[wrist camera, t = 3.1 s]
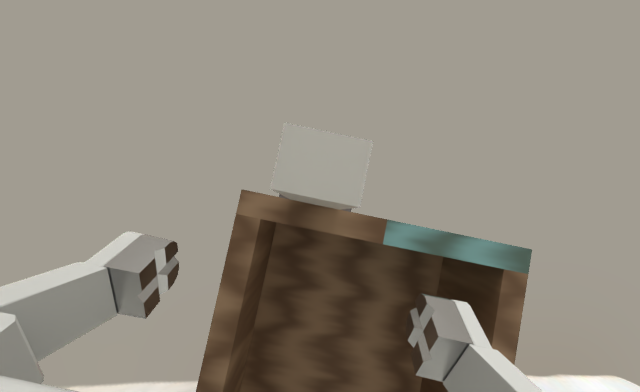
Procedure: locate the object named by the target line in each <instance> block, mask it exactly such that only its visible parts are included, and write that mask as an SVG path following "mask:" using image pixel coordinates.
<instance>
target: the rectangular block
mask: <svg viewBox="0 0 640 392" xmlns="http://www.w3.org/2000/svg"><path fill="white" fill-rule="evenodd" d="M372 144H373V141H370V140H366V139H361V138H356V137H351V136H347V135H342V134H337V133H332V132H327V131H323V130H318V129H313V128H308V127H304V126H299V125H294V124H289V123H284V127H283V132H282V136H281V141H280V145H279V150H278V155H277V160H276V164H275V168H274V173H273V178H272V183H271V186H270V189H271V190H273V191H275V192H277V193H279V194H280V195H279V197H280V198H285V199H290V200H295V201H300V202H305V203H309V204H314V205H319V206H324V207H329V208H333V209H338V210H343V211H348V212H351V209H352V208H359V207H360V205H361V200H362V195H363V190H364V185H365V179H366V174H367V169H368V164H369V159H370V154H371V149H372Z"/></svg>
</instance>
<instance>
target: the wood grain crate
mask: <svg viewBox="0 0 640 392" xmlns="http://www.w3.org/2000/svg"><path fill="white" fill-rule="evenodd" d="M531 252H532V250H531V249H526V248H522V247H517V246H512V245H507V244H502V243H497V242H492V241H488V240H483V239H478V238H474V237H469V236H464V235H459V234H454V233H449V232H444V231H439V230H435V229H430V228H425V227H420V226H416V225H411V224H406V223H401V222H396V221H391V220H387V219H382V218H377V217H372V216H367V215H362V214H358V213H353V212H348V211H343V210H338V209H333V208H329V207H324V206H319V205H314V204H309V203H305V202H300V201H295V200H290V199H285V198H280V197H275V196H270V195H266V194H261V193H256V192H251V191H247V190H241V195H240V200H239V204H238V208H237V213H236V217H235V221H234V226H233V230H232V235H231V239H230V244H229V248H228V252H227V257H226V261H225V266H224V270H223V274H222V279H221V283H220V288H219V293H218V296H217V301H216V306H215V310H214V314H213V319H212V323H211V328H210V332H209V336H208V341H207V345H206V350H205V354H204V359H203V363H202V367H201V372H200V376H199V381H198V385H197V389H196V392H448V390H447V389H446V388H445V386H444V385H443V382H441V381H437V380H433V379H429V378H425V377H420V376H416V375H415V371H414V367H413V362H412V358H411V352H412V350H413V346H412V345H411V344H410V343H409V342H408V340H407V335H406V321H407V317H408V315H409V312H410V311H411V310H412V309H414V308H416V304H415V300H416V298H417V296H418V295H419V294H421V293H422V294H426V295H431V296H436V297H441V298H446V299H450V300H451V299H452V300H457V301H462V302H467V303H468V304H469V305H470V306H471V308H472V310H473V312H474V314H475V316H476V318H477V320H478V322H479V324H480V326H481V328H482V329H483V331H484V333H485V335H486V337H487V339H488V341H489V343H490V345H491V347H492V349H495V350H498V351H499V352H500V353H501V354H502V355H503V356H505V357H506V358H507V359H508V360H509V361H510V362H511V363H512V364H513V365H514V362H515V356H516V350H517V343H518V337H519V331H520V324H521V318H522V311H523V304H524V298H525V292H526V285H527V279H528V272H529V266H530V259H531Z"/></svg>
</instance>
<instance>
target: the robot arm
mask: <svg viewBox="0 0 640 392" xmlns="http://www.w3.org/2000/svg"><path fill="white" fill-rule="evenodd" d="M177 252H178V248H177V243H176V242H174V241H171V240H167V239H162V238H158V237H154V236H150V235H144V234H140V233H136V232H131V231H129V232H125V233H123V234H122V235H120V236H119V237H118V238H117V239H115V240H114V241H112V242H111V243H110V244H108V245H107V246H106V247H104V248H103V249H102V250H100V251H99V252H98V253H96V254H95V255H94V256H92V257H91V258H90V259H88V260H87V261H86V262H85V263H82V262H77V263H73V264H70V265H67V266H64V267H61V268H58V269H55V270H51V271H48V272H45V273H42V274H39V275H36V276H33V277H30V278H26V279H23V280H20V281H17V282H14V283H11V284H7V285H4V286H1V287H0V392H78V391H73V390H68V389H63V388H58V387H54V386H49V385H43V384H41V383H42V382H43V381H44V374H43V372H42V370H41V368H40V366H39V364H38V361H40V360H41V359H43V358H45V357H46V356H48V355H50V354H52V353H53V352H55V351H57V350H58V349H60V348H62V347H64V346H65V345H67V344H69V343H71V342H72V341H74V340H75V339H77V338H79V337H81V336H82V335H84V334H86V333H88V332H89V331H91V330H93V329H95V328H96V327H98V326H100V325H101V324H103V323H105V322H107V321H108V320H110V319H112V318H113V317H115V316H117V314H123V315H128V316H134V317H139V318H145V319H146V318H147V317H148V315H149V314H150V313H151V311H152V310H153V309H154V308H155V307H156V305H157V304H158V302H160V297H159V295H160V294H161V293H164V292H166V291H168V290H169V289H170V287H171V286H172V285H173V283H174V281H175V279H176V277H177V275H178V270H179V262H178V260H177V259H176V258H175V257H174V255H175V254H176V253H177ZM415 304H416V308H414V309H412V310H411V311H410V312H409V315H408V317H407V321H406V335H407V340H408V342H409V343H410V344H411V345H412V346H413V350H412V352H411V358H412V362H413V367H414V371H415V375H416V376H420V377H425V378H429V379H433V380H437V381H441V382H443V385H444V386H445V388H446V389H447V390H448V392H543V391H542V390H541V389H539V388H538V387H537V386H536V385H535V384H534V383H533V382H532V381H531V380H530V379H529V378H527V377H526V376H525V375H524V374H523V373H522V372H521V371H520V370H519V369H518V368H516V367H515V366H514V365H513V364H512V363H511V362H510V361H509V360H508V359H507V358H506V357H505V356H503V355H502V354H501V353H500V352H499V351H498V350H495V349H492V347H491V345H490V343H489V341H488V339H487V337H486V335H485V333H484V331H483V329H482V328H481V326H480V324H479V322H478V320H477V318H476V316H475V314H474V312H473V310H472V308H471V306H470V305H469V304H468V303H467V302H462V301H457V300H452V299H451V300H450V299H446V298H441V297H436V296H431V295H426V294H422V293H421V294H419V295H418V296H417V298H416V300H415Z"/></svg>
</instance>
